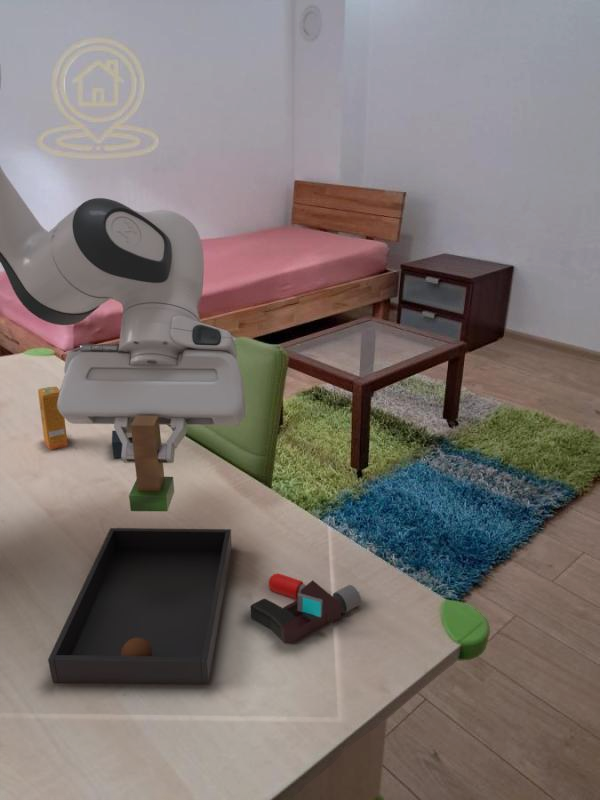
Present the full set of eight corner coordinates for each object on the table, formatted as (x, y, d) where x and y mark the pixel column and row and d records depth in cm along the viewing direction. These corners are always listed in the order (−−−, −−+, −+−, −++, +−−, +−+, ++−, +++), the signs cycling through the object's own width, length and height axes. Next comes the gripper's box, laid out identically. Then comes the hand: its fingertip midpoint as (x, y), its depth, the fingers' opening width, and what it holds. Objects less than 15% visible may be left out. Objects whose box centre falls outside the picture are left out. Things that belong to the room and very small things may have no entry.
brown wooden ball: (115, 661, 61) (120, 632, 63) (121, 675, 63) (126, 646, 65) (146, 660, 61) (151, 631, 63) (151, 674, 63) (155, 645, 65)
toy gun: (370, 607, 72) (372, 573, 70) (286, 657, 65) (286, 621, 63) (316, 564, 79) (317, 532, 77) (235, 605, 72) (233, 571, 70)
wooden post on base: (130, 511, 68) (120, 428, 64) (139, 491, 72) (130, 411, 68) (167, 511, 68) (159, 429, 64) (174, 491, 72) (167, 412, 68)
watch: (147, 438, 109) (141, 379, 105) (149, 460, 102) (142, 398, 98) (113, 442, 108) (106, 382, 104) (113, 465, 101) (105, 402, 96)
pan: (53, 687, 62) (47, 659, 60) (113, 550, 81) (110, 527, 80) (208, 688, 62) (206, 661, 60) (231, 552, 81) (230, 529, 79)
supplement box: (70, 445, 107) (62, 391, 103) (49, 451, 105) (40, 396, 101) (65, 438, 109) (56, 384, 105) (44, 443, 107) (34, 389, 103)
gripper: (58, 330, 69) (38, 452, 64) (245, 332, 69) (239, 454, 64) (77, 355, 75) (60, 468, 70) (249, 357, 75) (244, 470, 70)
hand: (147, 461), depth 67 cm, fingers closed on wooden post on base, 2 cm apart
